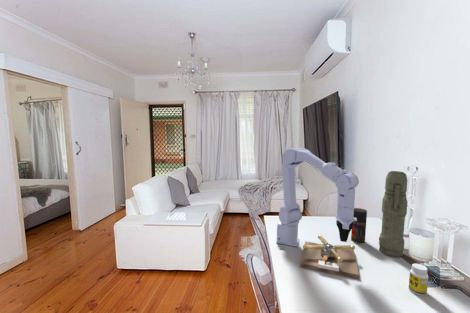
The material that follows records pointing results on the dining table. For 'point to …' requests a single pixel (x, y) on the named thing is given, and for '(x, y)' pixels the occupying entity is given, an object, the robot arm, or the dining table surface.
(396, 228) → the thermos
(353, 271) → the stand board
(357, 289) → the dining table surface
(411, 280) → the supplement bottle
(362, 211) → the deodorant
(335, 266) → the frame
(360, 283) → the dining table surface
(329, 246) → the capstan
